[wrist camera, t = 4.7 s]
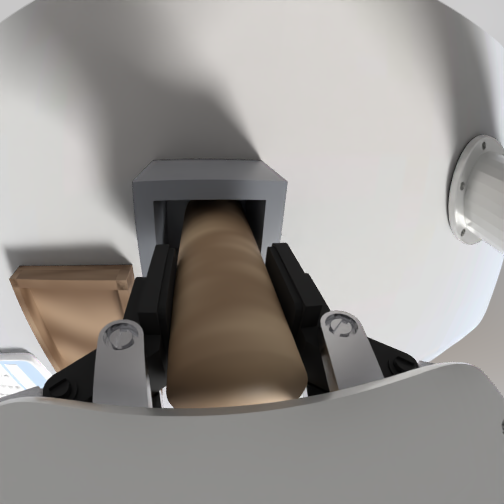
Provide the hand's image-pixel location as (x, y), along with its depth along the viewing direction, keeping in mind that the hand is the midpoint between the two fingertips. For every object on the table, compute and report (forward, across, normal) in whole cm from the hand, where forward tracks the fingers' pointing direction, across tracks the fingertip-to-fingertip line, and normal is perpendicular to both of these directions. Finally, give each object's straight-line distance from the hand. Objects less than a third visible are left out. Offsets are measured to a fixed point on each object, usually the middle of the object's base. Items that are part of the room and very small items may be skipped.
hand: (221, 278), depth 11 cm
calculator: (+8, +30, +24) cm, 39 cm away
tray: (+8, +12, +12) cm, 18 cm away
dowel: (+7, 0, 0) cm, 7 cm away
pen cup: (+8, 0, 0) cm, 8 cm away
